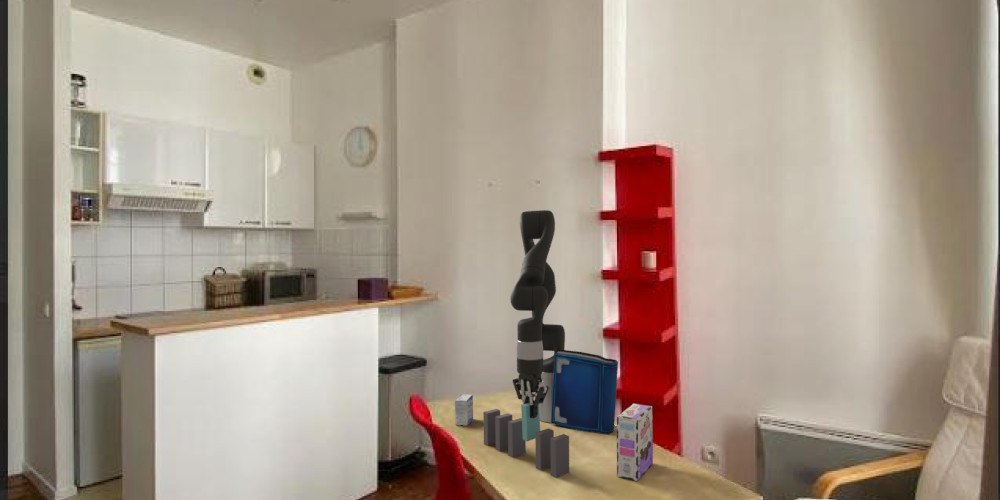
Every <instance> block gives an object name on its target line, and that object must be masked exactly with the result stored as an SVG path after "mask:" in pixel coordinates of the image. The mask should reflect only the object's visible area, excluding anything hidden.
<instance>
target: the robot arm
mask: <svg viewBox="0 0 1000 500" xmlns="http://www.w3.org/2000/svg"><path fill="white" fill-rule="evenodd" d="M519 229H520V234H521V241H522V244H523V245H522V247H523V251H524V257H523V260H522V264H521V269H520V275H519V277H518V280H517V281H516V282H515V285H514V286H513V288H512V291H511V294H510V304H511V306H512V308H513V309H514V310H516V311H525V312H526V311H527V312H528V311H529V312H530V311H531V317H528V318H522V319H520V320H518V322H517V327H516V328H517V341H516V342H517V343H516V371H517V374H518V377H517V378H514V379H512V384H513V387H514V390H515V394H516V396H517V399H518V400H520V401H522V404H526V403H529V402H530V418H536V417H537V415H538V404H539V414H540V422H543V423H549V424H550V423H551V413H552V394H553V375H554V356H555V353H557V352H558V351H561V352H562V350H565V347H566V345H565V342H566V330H565V328H564V326H563V325H562V324H551V323H550V324H548V323H547V324H546V323H544V316H545V313H546V311H547V309H548V307H549V306H550V305H551V303H552V301H553V299H554V298H555V296H556V293H557V286H556V278H555V277H556V275H555V271H554V270H553V269H552V267H551V266H550V264H549V263H548V262H547V259H548V256H549V253H550V249H551V246H552V243H553V240H554V236H555V231H556V219H555V217H554V213H553V212H552V211H551V210H548V209H547V210H546V209H544V210H543V209H542V210H527V211H523V212H521V214H520V216H519ZM535 240H538V241H537V242H536V244H535ZM544 351H546V352H547V351H548V352H553V353H554V354H553V355H552V356H551V357H548V358H545V359H544ZM551 424H552V423H551Z"/></svg>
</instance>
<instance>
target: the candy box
mask: <svg viewBox="0 0 1000 500" xmlns="http://www.w3.org/2000/svg"><path fill="white" fill-rule="evenodd" d="M653 427H654V426H653V406H652V405H646V404H639V403H632V405H630V406H628V407H627V408H626V409H625V410H623V411H622V412H621V413H620V414H618V415H617V416H616V476H617V477H619V478H623V479H628V480H630V481H631V480H632V481H634V482H638V481H639V480H640V479H641V478H642V477H643V475H645V474H646V472H647V471H648V470H649V468H650V467H651V466H652V465H653V464H654V462H653V461H654V454H653V453H654V451H653V450H654V449H653V448H654V446H653V444H654V443H653V442H654V441H653V440H654V438H653V437H654V435H653V431H654V430H653Z"/></svg>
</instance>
